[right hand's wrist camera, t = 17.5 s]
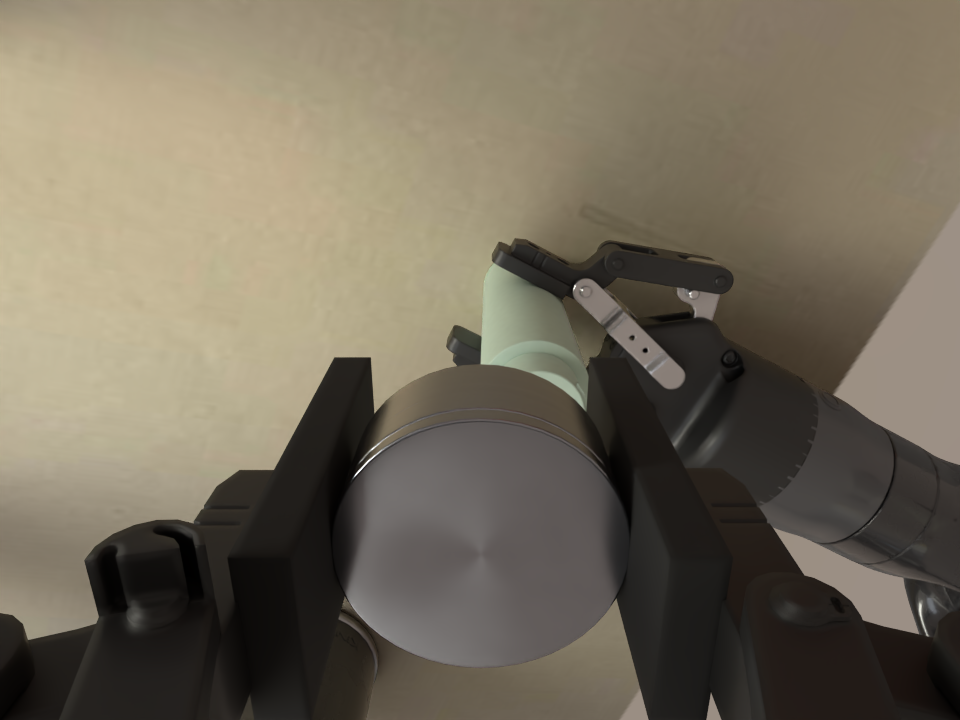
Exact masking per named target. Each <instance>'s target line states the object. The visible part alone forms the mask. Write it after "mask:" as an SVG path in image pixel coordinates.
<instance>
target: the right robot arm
mask: <svg viewBox="0 0 960 720" xmlns="http://www.w3.org/2000/svg"><path fill="white" fill-rule="evenodd" d="M586 412H587V414H588V415H589V416H590V418H591V419H592V421H593V422H594V424H595V425H596V427H597V429H598V431H599V433H600V435H601V437H602V440H603V443H604V446H605V449H606V452H607V455H608V458H609V461H610V464H611V467H612V470H613V473H614V476H615V478H616V481H617V484H618V487H619V490H620V493H621V496H622V499H623V502H624V505H625V509H626V512H627V515H628V518H629V523H630V530H631V537H630V549H629V559H628V568H627V574H626V577H625V580H624V583H623V586H622V588H621V589H620V591H619V593H618V595H617V597H616V598H617V602H618V606H619V610H620V614H621V617H622V621H623V625H624V629H625V632H626V636H627V640H628V644H629V647H630V651H631V655H632V659H633V662H634V666H635V670H636V674H637V678H638V681H639V685H640V689H641V693H642V696H643V700H644V704H645V708H646V711H647V715H648V719H649V720H706V718H707V712H708V706H709V700H710V694H711V693H712V696H713V698H714V701H715V704H716V706H717V709H718V712H719V714H720V717H721V719H722V720H960V611H955V612H949V613H948V614H947V615H945V616H944V617H943V618H942V619H941V620H939V622H938V625H937V628H936V631H935V634H934V637H928V636H924V635H919V634H915V633H910V632H906V631H902V630H897V629H892V628H888V627H883V626H880V625H877V624H873V623H870V622H866V621H863V620H862V617H861V615H860V614H859V612H858V611H857V609H856V608H855V606H854V605H853V603H852V602H851V601H850V600H849V599H848V598H846V597H845V596H844V595H843V594H841V593H840V592H839V591H838V590H836V589H835V588H834V587H832V586H829V585H827V584H825V583H823V582H821V581H819V580H817V579H815V578H812V577H808V576H804V574H803V573H802V571H801V570H800V568H799V567H798V565H797V564H796V562H795V561H794V559H793V558H792V556H791V555H790V553H789V551H788V550H787V548H786V547H785V545H784V544H783V542H782V541H781V539H780V538H779V536H778V535H777V533H776V532H775V530H774V529H773V527H772V526H771V524H770V523H767V518H766V517H765V515H764V514H763V512H762V511H761V509H760V508H759V507H757V503H756V502H755V500H754V499H753V497H752V496H751V494H750V493H749V491H748V490H747V488H746V487H745V485H744V484H743V483H741V482H740V481H739V480H737V479H736V478H734V477H733V476H732V475H730V474H729V473H727V472H726V471H725V470H723V469H722V468H685V467H684V465H683V463H682V461H681V459H680V457H679V455H678V454H677V452H676V450H675V448H674V446H673V444H672V442H671V441H670V439H669V437H668V435H667V433H666V431H665V429H664V428H663V426H662V424H661V422H660V420H659V418H658V416H657V414H656V413H655V411H654V409H653V407H652V405H651V403H650V401H649V400H648V398H647V396H646V394H645V392H644V390H643V388H642V387H641V385H640V383H639V381H638V379H637V377H636V375H635V373H634V372H633V370H632V368H631V366H630V364H629V362H628V360H627V359H626V357H590V362H589V377H588V393H587V409H586ZM373 415H374V402H373V386H372V370H371V357H368V358H334V359H333V361H332V363H331V365H330V367H329V369H328V371H327V372H326V374H325V376H324V378H323V380H322V382H321V384H320V386H319V387H318V389H317V391H316V393H315V395H314V397H313V399H312V400H311V402H310V404H309V406H308V408H307V410H306V412H305V413H304V415H303V417H302V419H301V421H300V423H299V425H298V427H297V428H296V430H295V432H294V434H293V436H292V438H291V440H290V441H289V443H288V445H287V447H286V449H285V451H284V453H283V455H282V456H281V458H280V460H279V462H278V464H277V466H276V468H275V469H274V470H239V471H238V472H236V473H235V474H234V475H232V476H231V477H229V478H228V479H227V480H225V481H224V482H222V483H221V484H220V485H218V486H217V487H216V488H215V490H214V491H213V493H212V495H211V496H210V498H209V499H208V501H207V502H206V504H205V505H204V509H202V510H201V511H200V513H199V514H198V516H197V517H196V519H195V520H194V524H192V523H189V522H185V521H181V520H155V521H151V522H146V523H142V524H137V525H134V526H131V527H129V528H126V529H124V530H122V531H119V532H117V533H115V534H113V535H111V536H110V537H108V538H107V539H105V540H104V541H102V542H101V543H100V544H98V545H97V546H95V547H94V549H93V550H92V551H91V553H90V554H89V555H88V556H87V558H86V559H85V560H84V561H85V565H86V569H87V572H88V576H89V580H90V584H91V588H92V592H93V595H94V599H95V603H96V607H97V611H98V615H99V618H98V621H97V624H94V625H90V626H87V627H83V628H80V629H76V630H72V631H67V632H63V633H58V634H54V635H49V636H45V637H40V638H36V639H31V640H28V639H27V636H26V633H25V629H24V626H23V624H22V623H21V622H20V621H19V620H17V619H16V618H15V617H14V616H13V615H8V614H2V613H0V720H240V719H241V716H242V714H243V711H244V708H245V706H246V703H247V700H248V698H249V695H250V698H251V704H252V710H253V716H254V720H312V717H313V713H314V709H315V706H316V702H317V698H318V694H319V690H320V687H321V683H322V679H323V675H324V672H325V668H326V664H327V660H328V657H329V653H330V649H331V645H332V641H333V638H334V634H335V630H336V626H337V623H338V619H339V615H340V611H341V608H342V604H343V600H344V596H345V595H344V593H343V591H342V589H341V587H340V585H339V582H338V579H337V577H336V574H335V571H334V567H333V559H332V549H331V528H332V521H333V517H334V514H335V511H336V507H337V504H338V501H339V498H340V495H341V493H342V490H343V487H344V484H345V481H346V478H347V475H348V472H349V470H350V467H351V464H352V461H353V458H354V455H355V452H356V450H357V447H358V444H359V441H360V439H361V436H362V434H363V432H364V430H365V428H366V426H367V424H368V423H369V421H370V420H371V418H372V417H373Z"/></svg>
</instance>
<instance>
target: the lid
mask: <svg viewBox="0 0 960 720" xmlns="http://www.w3.org/2000/svg"><path fill="white" fill-rule="evenodd" d="M630 537H631V530H630V523H629V518H628V515H627V512H626V509H625V505H624V502H623V499H622V496H621V493H620V490H619V487H618V484H617V481H616V478H615V476H614V473H613V470H612V467H611V464H610V461H609V458H608V455H607V452H606V449H605V446H604V443H603V440H602V437H601V435H600V433H599V431H598V429H597V427H596V425H595V424H594V422H593V421H592V419H591V418H590V416H589V415H588V414H587V412H586V411H585V410H584V409H583V408H582V407H581V406H580V404H579V403H578V402H577V401H576V400H575V399H574V398H572V397H571V396H570V395H569V394H567V393H566V392H565V391H564V390H563V389H561V388H559V387H558V386H556V385H554V384H553V383H551V382H550V381H548V380H546V379H543V378H541V377H539V376H537V375H535V374H532V373H529V372H526V371H523V370H520V369H516V368H511V367H506V366H500V365H486V364H475V365H462V366H456V367H451V368H446V369H442V370H439V371H436V372H433V373H430V374H427V375H425V376H423V377H421V378H419V379H417V380H414V381H412V382H411V383H409V384H408V385H406V386H405V387H403V388H401V389H400V390H398V391H397V392H396V393H395V394H394V395H392V396H391V397H390V398H389V399H388V400H386V401H385V403H384V404H383V405H382V406H381V407H380V408H379V409H378V410H377V411H376V413H375V414H374V415H373V417H372V418H371V420H370V421H369V423H368V424H367V426H366V428H365V430H364V432H363V434H362V436H361V439H360V441H359V444H358V447H357V450H356V452H355V455H354V458H353V461H352V464H351V467H350V470H349V472H348V475H347V478H346V481H345V484H344V487H343V490H342V493H341V495H340V498H339V501H338V504H337V507H336V511H335V514H334V517H333V521H332V528H331V549H332V559H333V567H334V571H335V574H336V577H337V579H338V582H339V585H340V587H341V589H342V591H343V593H344V595H345V597H346V599H347V600H348V602H349V603H350V605H351V606H352V607H353V609H354V610H355V612H356V613H357V614H358V615H359V616H360V617H361V618H362V619H363V620H364V622H365V623H366V624H367V625H368V626H369V627H371V628H372V629H373V630H374V631H375V632H377V633H378V634H379V635H380V636H381V637H383V638H385V639H386V640H388V641H389V642H391V643H392V644H394V645H395V646H397V647H399V648H401V649H403V650H405V651H407V652H409V653H411V654H414V655H416V656H419V657H422V658H424V659H427V660H431V661H434V662H438V663H442V664H447V665H453V666H460V667H473V668H490V667H503V666H510V665H516V664H521V663H524V662H528V661H532V660H536V659H538V658H541V657H544V656H546V655H549V654H552V653H554V652H556V651H558V650H560V649H562V648H564V647H566V646H567V645H569V644H570V643H572V642H574V641H575V640H577V639H578V638H580V637H581V636H582V635H584V634H585V633H586V632H587V631H588V630H590V629H591V628H592V627H593V626H594V625H595V624H596V623H597V622H598V621H599V620H600V619H601V618H602V617H603V616H604V615H605V613H606V612H607V611H608V609H609V608H610V606H611V605H612V604H613V602H614V601H615V599H616V597H617V595H618V593H619V591H620V589H621V588H622V586H623V583H624V580H625V577H626V574H627V568H628V559H629V549H630Z"/></svg>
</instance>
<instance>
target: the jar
mask: <svg viewBox="0 0 960 720" xmlns="http://www.w3.org/2000/svg"><path fill="white" fill-rule="evenodd" d="M481 364H486V365H500V366H506V367H511V368H516V369H520V370H523V371H526V372H529V373H532V374H535V375H537V376H539V377H541V378H543V379H546V380H548V381H550V382H551V383H553V384H554V385H556V386H558V387H559V388H561V389H563V390H564V391H565V392H566V393H567V394H569V395H570V396H571V397H572V398H574V399H575V400H576V401H577V402H578V403H579V404H580V406H581V407H582V408H583V409H584V410H585V411H586V409H587V393H588V377H589V376H588V373H587V370H586V367H585V364H584V362H583V359H582V356H581V353H580V350H579V347H578V345H577V342H576V339H575V336H574V333H573V330H572V328H571V325H570V322H569V319H568V316H567V313H566V311H565V308H564V305H563V302H562V299H561V298H559V297H557V296H555V295H553V294H551V293H549V292H548V291H546V290H544V289H542V288H540V287H538V286H536V285H534V284H532V283H530V282H528V281H526V280H524V279H522V278H520V277H518V276H517V275H515V274H513V273H511V272H509V271H507V270H505V269H503V268H501V267H499V266H498V265H496V264H495V263H494V264H493V265H492V266H491V267H490V269H489V270H488V272H487V274H486V277H485V280H484V290H483V316H482V342H481Z"/></svg>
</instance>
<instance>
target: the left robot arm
mask: <svg viewBox="0 0 960 720" xmlns="http://www.w3.org/2000/svg"><path fill="white" fill-rule="evenodd" d="M492 261H493V262H494V263H495V264H496V265H498V266H499V267H501V268H503V269H505V270H507V271H509V272H511V273H513V274H515V275H517V276H518V277H520V278H522V279H524V280H526V281H528V282H530V283H532V284H534V285H536V286H538V287H540V288H542V289H544V290H546V291H548V292H549V293H551V294H553V295H555V296H557V297H559V298H561V299H564V297H565V295H567V296H569V297H571V298H573V299H575V300H576V301H577V302H578V303H579V304H580V305H581V306H582V307H583V308H584V309H585V310H586V311H588V312H589V313H590V314H591V315H592V316H593V317H594V318H595V319H596V320H597V321H598V322H599V323H600V324H601V325H602V326H603V327H604V329H605V330H606V331H607V332H608V334H607V336H606V337H605V339H604V342H603V346H602V349H601V352H600V354H599V355H598V356H597V357H626V359H627V360H628V362H629V364H630V366H631V368H632V370H633V372H634V373H635V375H636V377H637V379H638V381H639V383H640V385H641V387H642V388H643V390H644V392H645V394H646V396H647V398H648V400H649V401H650V403H651V405H652V407H653V409H654V411H655V413H656V414H657V416H658V418H659V420H660V422H661V424H662V426H663V428H664V429H665V431H666V433H667V435H668V437H669V439H670V441H671V442H672V444H673V446H674V448H675V450H676V452H677V454H678V455H679V457H680V459H681V461H682V463H683V465H684V467H685V468H722V469H723V470H725V471H726V472H727V473H729V474H730V475H732V476H733V477H734V478H736V479H737V480H739V481H740V482H741V483H743V484H744V485H745V487H746V488H747V490H748V491H749V493H750V494H751V496H752V497H753V499H754V500H755V502H756V503H757V507H759V508H760V509H761V511H762V512H763V514H764V515H765V517H766V518H767V523H770V524H771V526H772V527H774V528H776V529H779V530H782V531H785V532H788V533H791V534H795V535H798V536H801V537H804V538H806V539H808V540H811V541H813V542H815V543H817V544H819V545H821V546H823V547H825V548H827V549H829V550H831V551H833V552H835V553H837V554H839V555H841V556H843V557H845V558H847V559H849V560H851V561H854V562H856V563H858V564H861V565H863V566H865V567H867V568H870V569H873V570H876V571H879V572H882V573H885V574H889V575H893V576H898V577H903V578H904V584H905V589H906V593H907V597H908V600H909V604H910V607H911V610H912V613H913V616H914V619H915V622H916V625H917V628H918V631H919V634H920V635H924V636H928V637H934V634H935V631H936V628H937V625H938V622H939V620H941V619H942V618H943V617H944V616H945V615H947V614H948V613H949V612H955V611H960V465H957V464H954V463H950V462H948V461H945V460H942V459H940V458H938V457H936V456H934V455H932V454H930V453H929V452H927V451H926V450H924V449H922V448H921V447H919V446H917V445H915V444H914V443H912V442H910V441H908V440H906V439H904V438H902V437H900V436H899V435H897V434H895V433H893V432H891V431H889V430H887V429H885V428H883V427H882V426H880V425H878V424H876V423H874V422H872V421H871V420H869V419H868V418H866V417H865V416H864V415H862V414H861V413H860V412H858V411H857V410H856V409H855V408H853V407H852V406H850V405H849V404H848V403H846V402H844V401H843V400H841V399H839V398H837V397H836V396H834V395H832V394H830V393H828V392H826V391H824V390H822V389H821V388H819V387H817V386H815V385H813V384H811V383H809V382H807V381H806V380H804V379H802V378H800V377H798V376H796V375H794V374H792V373H791V372H789V371H787V370H785V369H783V368H781V367H779V366H777V365H776V364H774V363H772V362H770V361H768V360H766V359H764V358H762V357H761V356H759V355H757V354H755V353H753V352H751V351H749V350H747V349H746V348H744V347H742V346H740V345H738V344H736V343H734V342H732V341H730V340H729V339H727V338H725V337H724V336H723V335H722V333H721V331H720V329H719V328H718V326H717V325H716V324H715V323H714V322H713V317H714V314H715V311H716V308H717V304H718V301H719V298H720V294H723V293H726V292H727V291H728V290H729V289H730V288H731V287H732V285H733V281H734V279H733V275H732V273H731V272H730V271H729V270H727V269H726V268H725V267H724V266H722V265H721V264H719V263H718V262H716V261H715V260H713V259H712V258H709V257H704V256H698V255H693V254H687V253H681V252H675V251H669V250H663V249H658V248H652V247H646V246H640V245H634V244H629V243H623V242H617V241H605V242H603V243H602V244H601V245H600V246H599V247H598V249H597V252H596V253H595V254H594V255H593V256H591V257H590V258H589V259H588V260H587V261H585V262H583V263H580V264H573V263H570V262H567V261H566V260H564V259H562V258H560V257H558V256H556V255H554V254H552V253H551V252H549V251H547V250H545V249H543V248H541V247H539V246H537V245H535V244H534V243H532V242H530V241H528V240H526V239H516V238H515V239H514V241H513V243H512V244H511V246H509V245H507V244H505V243H502V242H498V244H497V246H496V248H495V250H494V252H493V254H492ZM616 278H624V279H630V280H636V281H642V282H648V283H654V284H660V285H665V286H671V287H672V288H673V292H674V293H675V294H676V296H677V297H678V298H679V299H680V300H681V301H683V302H686V303H688V304H689V307H690V308H689V312H681V313H674V314H666V315H659V316H652V317H644V318H638V317H637V316H636V315H635V314H634V313H633V312H632V311H631V310H630V309H629V308H628V307H627V306H626V305H624V304H623V303H622V302H621V301H620V300H619V299H618V298H617V297H616V296H615V295H614V294H613V293H611V292H610V291H609V290H608V289H607V288H606V287H607V286H608V285H609V284H610V283H612V282H613V281H614V280H615V279H616ZM481 342H482V337H481V336H479V335H477V334H475V333H473V332H471V331H469V330H467V329H465V328H463V327H461V326H458V325H455V326H454V327H453V329H452V331H451V333H450V334H449V336H448V339H447V345H446V347H447V348H448V350H450V351H451V352H452V353H454V355H453V361H454V363H455V364H456V365H457V366H462V365H475V364H481ZM586 370H587V373H588V376H589V364H588V366H587V368H586ZM377 669H378V652H377V648H376V645H375V643H374V641H373V639H372V637H371V635H370V634H369V632H368V631H367V630H366V629H365V628H364V627H363V626H362V625H361V624H360V623H359V622H358V621H356V620H355V619H354V618H352V617H351V616H349V615H347V614H346V613H344V612H341V611H340V615H339V619H338V623H337V626H336V630H335V634H334V638H333V641H332V645H331V649H330V653H329V657H328V660H327V664H326V668H325V672H324V675H323V679H322V683H321V687H320V690H319V694H318V698H317V702H316V706H315V709H314V713H313V717H312V720H366V717H367V713H368V708H369V703H370V698H371V693H372V688H373V684H374V682H375V679H376V675H377ZM240 720H254V716H253V710H252V704H251V698H250V695H249V698H248V700H247V703H246V706H245V708H244V711H243V714H242V716H241V719H240Z"/></svg>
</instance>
